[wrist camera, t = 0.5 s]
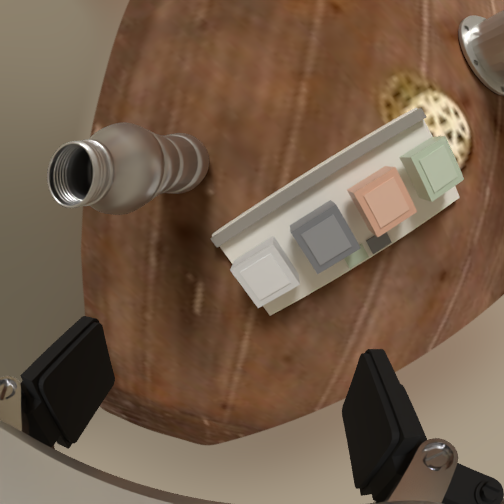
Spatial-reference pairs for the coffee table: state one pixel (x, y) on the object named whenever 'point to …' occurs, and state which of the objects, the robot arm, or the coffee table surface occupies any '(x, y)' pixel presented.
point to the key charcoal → (324, 236)
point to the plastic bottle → (125, 168)
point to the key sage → (432, 168)
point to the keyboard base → (335, 189)
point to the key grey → (265, 272)
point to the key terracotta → (382, 200)
